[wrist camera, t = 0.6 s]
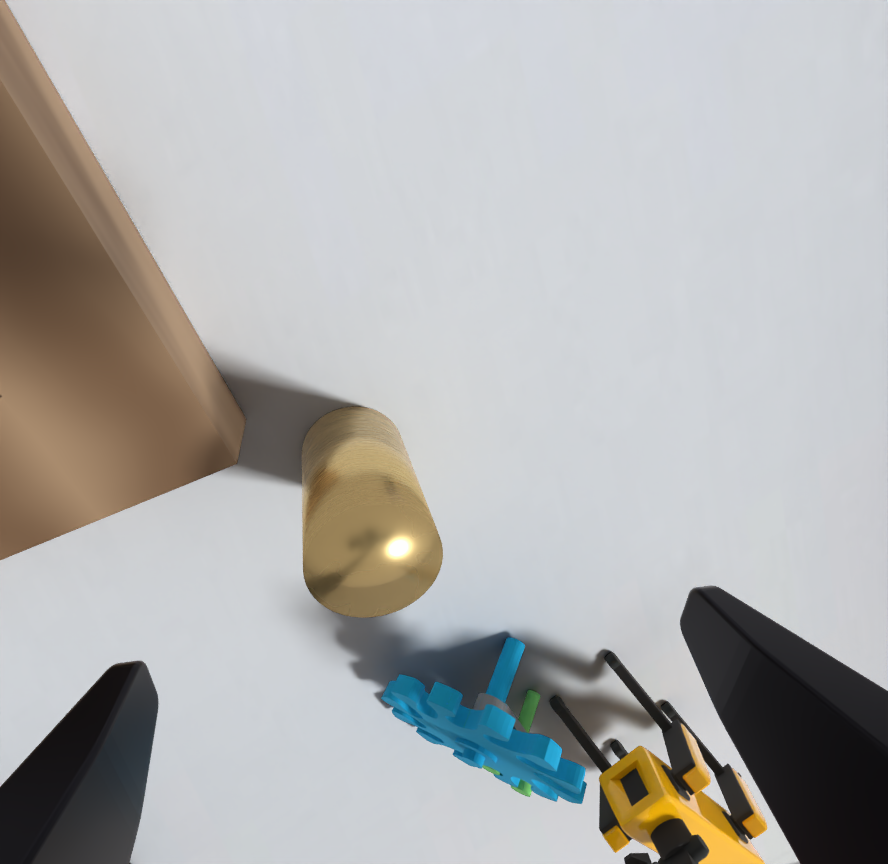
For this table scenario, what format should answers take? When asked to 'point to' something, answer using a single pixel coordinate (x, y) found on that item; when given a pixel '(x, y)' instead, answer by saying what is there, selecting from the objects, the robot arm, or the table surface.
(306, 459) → the gold metal cylinder
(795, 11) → the table surface
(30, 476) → the jig
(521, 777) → the gear
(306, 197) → the table surface
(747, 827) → the robot dog
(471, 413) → the table surface
